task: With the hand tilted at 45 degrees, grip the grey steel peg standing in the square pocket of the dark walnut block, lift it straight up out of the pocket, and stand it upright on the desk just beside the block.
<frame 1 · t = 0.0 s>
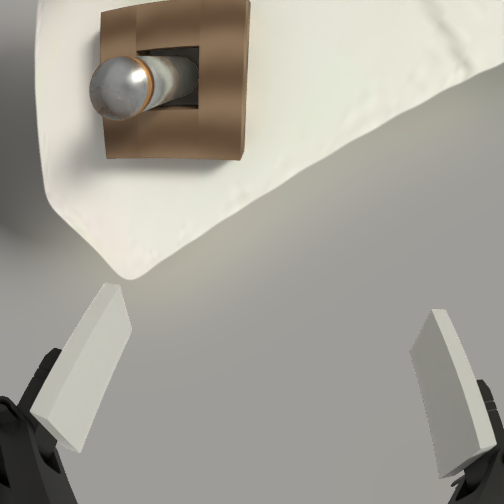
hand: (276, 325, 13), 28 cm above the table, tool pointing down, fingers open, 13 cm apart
steel peg: (154, 80, 26), in the pocket block
pocket block: (177, 76, 32), on the table
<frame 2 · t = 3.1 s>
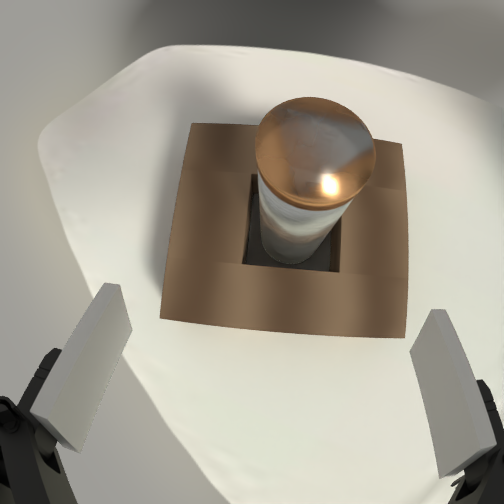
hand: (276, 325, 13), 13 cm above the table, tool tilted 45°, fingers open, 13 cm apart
steel peg: (299, 204, 20), in the pocket block
pocket block: (290, 234, 27), on the table
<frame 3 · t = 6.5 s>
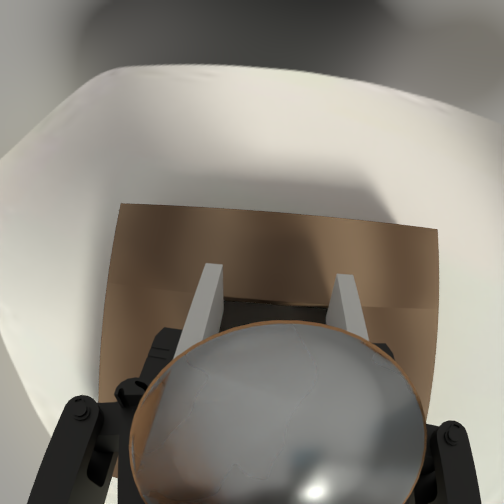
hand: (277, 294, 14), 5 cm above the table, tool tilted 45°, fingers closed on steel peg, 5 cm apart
steel peg: (271, 385, 12), in the pocket block, touching gripper
pocket block: (268, 361, 19), on the table
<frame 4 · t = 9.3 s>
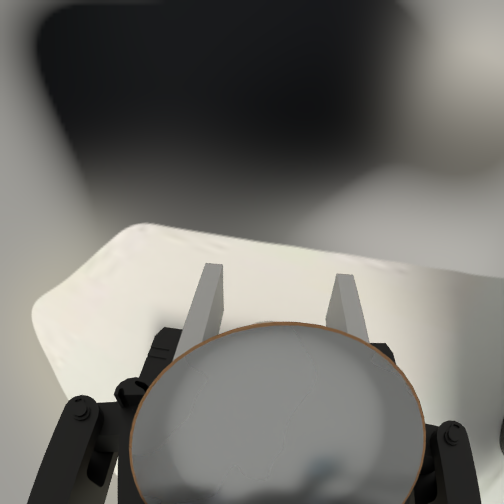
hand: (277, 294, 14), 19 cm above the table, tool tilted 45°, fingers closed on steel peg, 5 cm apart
steel peg: (271, 385, 12), point 21 cm above the table, touching gripper
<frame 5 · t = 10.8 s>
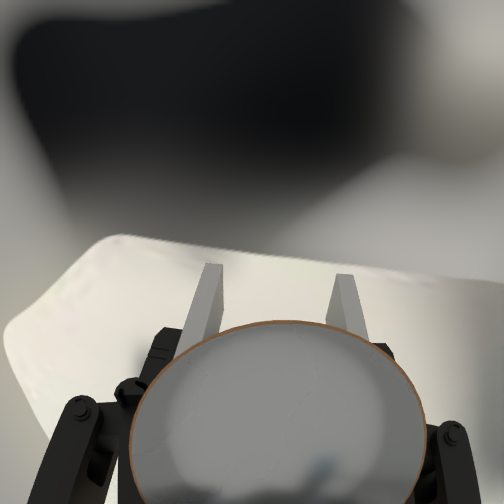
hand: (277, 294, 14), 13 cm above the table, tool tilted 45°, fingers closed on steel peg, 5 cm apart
steel peg: (271, 385, 12), point 15 cm above the table, touching gripper
when the fingers open (7 cm above the table, at t = 12.2 s): steel peg drops 1 cm, on the table.
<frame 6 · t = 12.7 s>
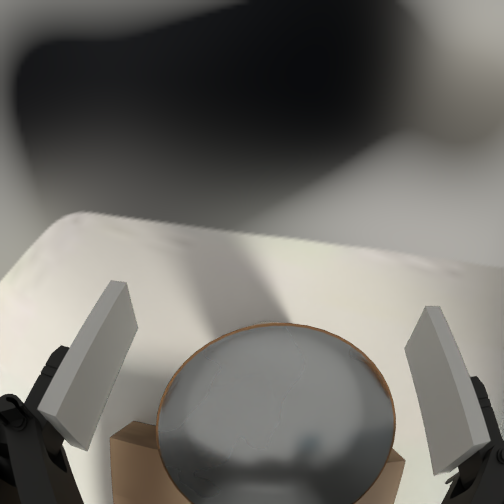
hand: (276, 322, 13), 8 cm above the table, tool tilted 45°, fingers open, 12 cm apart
steel peg: (270, 379, 13), on the table
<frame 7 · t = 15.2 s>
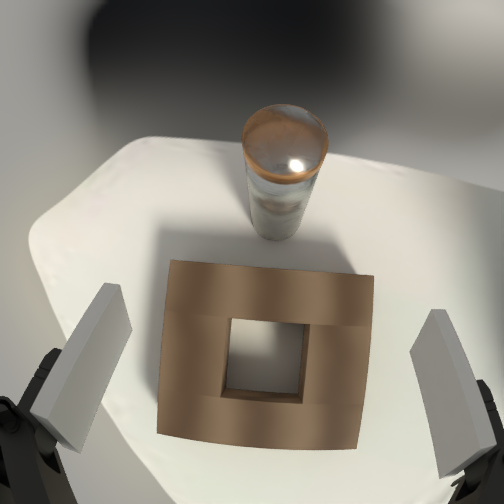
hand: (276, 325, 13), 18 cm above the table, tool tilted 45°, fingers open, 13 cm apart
steel peg: (279, 187, 25), on the table
pocket block: (264, 356, 30), on the table
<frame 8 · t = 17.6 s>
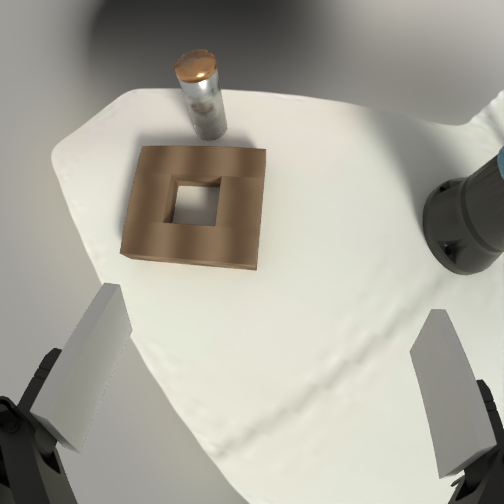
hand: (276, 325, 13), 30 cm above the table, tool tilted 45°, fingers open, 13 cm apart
steel peg: (203, 98, 41), on the table
pocket block: (197, 208, 45), on the table
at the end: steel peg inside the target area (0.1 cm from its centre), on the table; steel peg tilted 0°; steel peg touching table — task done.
